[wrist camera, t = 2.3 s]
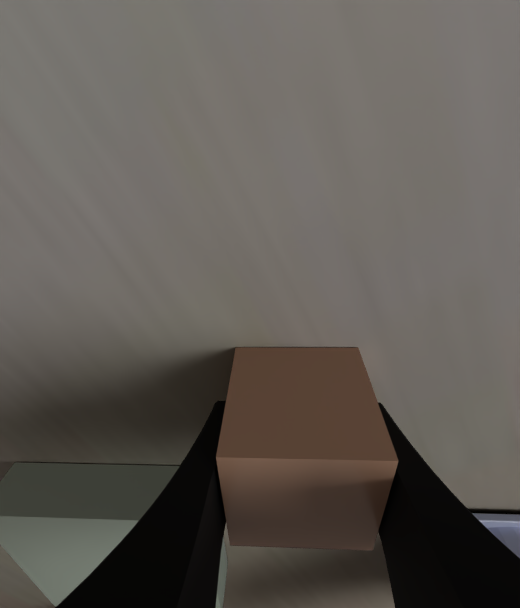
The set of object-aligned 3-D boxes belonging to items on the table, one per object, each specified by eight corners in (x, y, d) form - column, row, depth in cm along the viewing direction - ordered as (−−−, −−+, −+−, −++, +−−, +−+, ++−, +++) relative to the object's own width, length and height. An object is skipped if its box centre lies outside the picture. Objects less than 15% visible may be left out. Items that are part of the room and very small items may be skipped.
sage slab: (210, 466, 16) (200, 522, 14) (227, 562, 21) (222, 614, 18) (14, 462, 16) (-26, 515, 14) (77, 556, 21) (54, 606, 19)
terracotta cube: (357, 347, 12) (398, 460, 8) (345, 430, 14) (372, 550, 10) (235, 347, 12) (215, 457, 8) (242, 428, 14) (230, 545, 10)
